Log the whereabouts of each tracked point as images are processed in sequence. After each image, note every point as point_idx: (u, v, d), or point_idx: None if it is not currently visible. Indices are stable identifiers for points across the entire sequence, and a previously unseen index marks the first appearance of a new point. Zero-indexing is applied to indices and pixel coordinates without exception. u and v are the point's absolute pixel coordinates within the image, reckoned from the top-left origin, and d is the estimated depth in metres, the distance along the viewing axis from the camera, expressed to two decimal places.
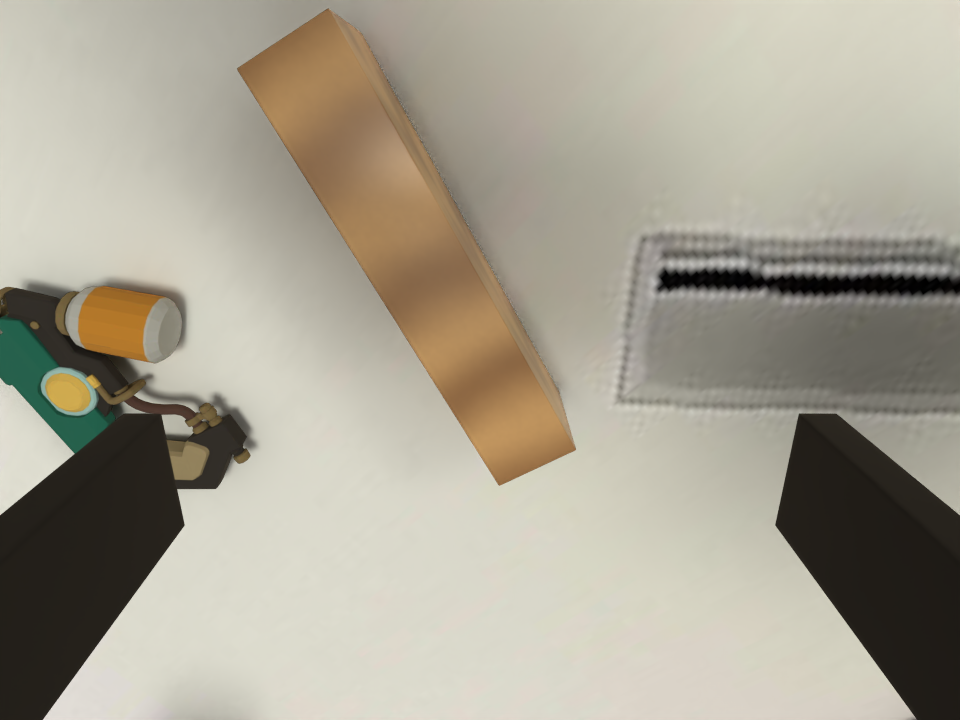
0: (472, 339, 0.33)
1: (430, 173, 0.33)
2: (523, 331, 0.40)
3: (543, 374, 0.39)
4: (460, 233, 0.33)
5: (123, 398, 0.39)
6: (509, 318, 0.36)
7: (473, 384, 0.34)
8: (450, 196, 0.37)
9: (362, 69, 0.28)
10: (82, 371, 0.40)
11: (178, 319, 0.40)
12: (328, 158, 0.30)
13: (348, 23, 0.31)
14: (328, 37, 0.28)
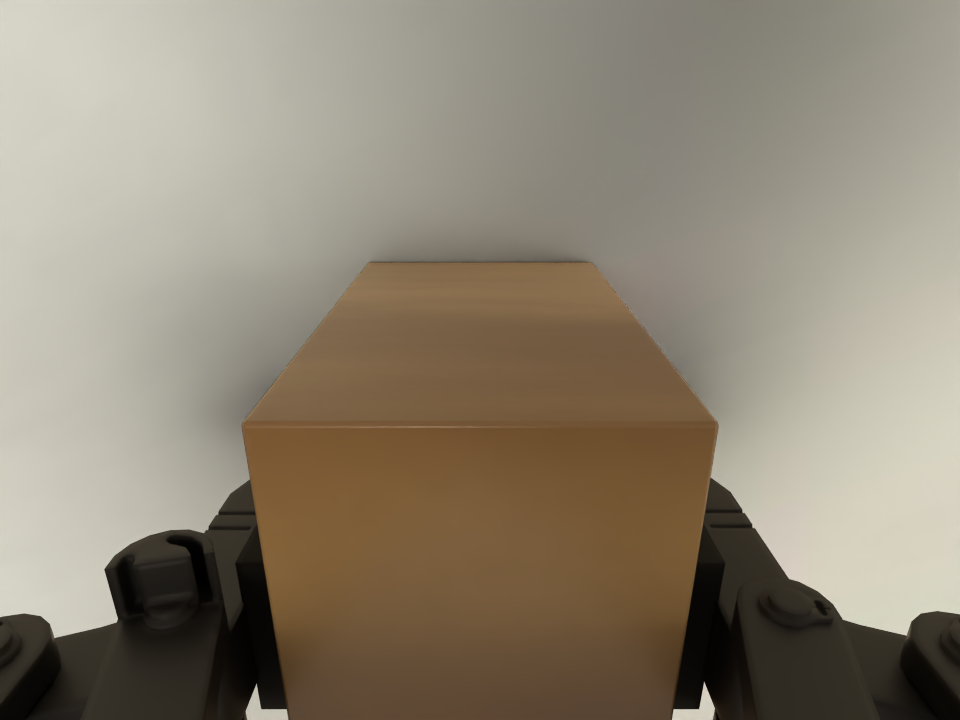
0: None
1: None
2: None
3: None
4: None
5: None
6: None
7: None
8: None
9: (684, 624, 0.08)
10: None
11: None
12: None
13: None
14: (650, 502, 0.07)
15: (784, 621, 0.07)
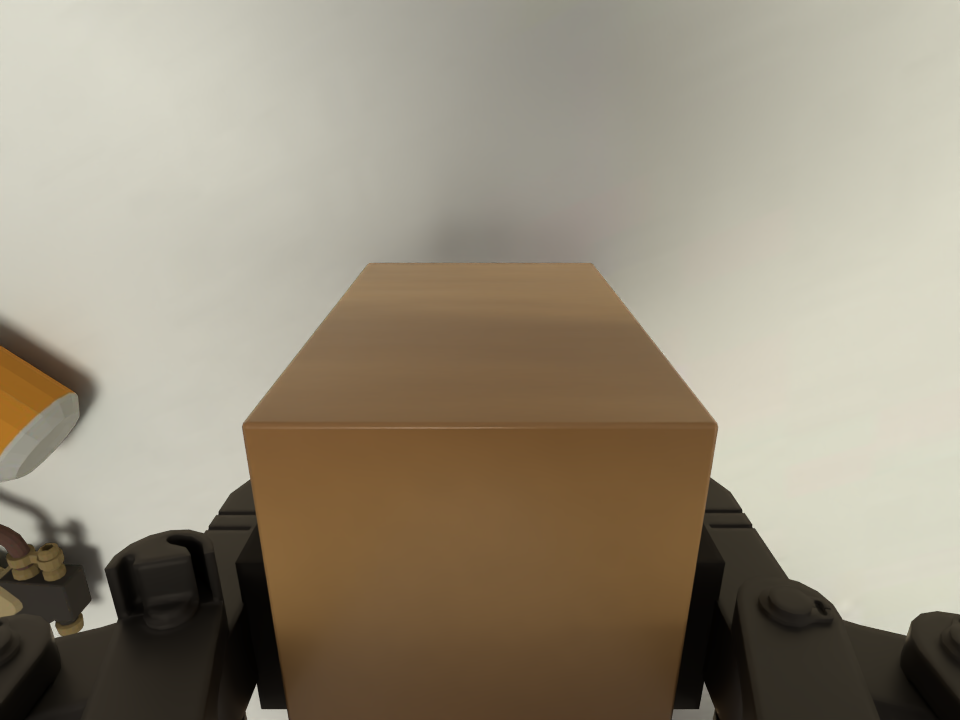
0: None
1: None
2: None
3: None
4: None
5: None
6: None
7: None
8: None
9: (683, 625, 0.08)
10: None
11: (72, 422, 0.25)
12: None
13: None
14: (651, 504, 0.07)
15: (784, 622, 0.07)
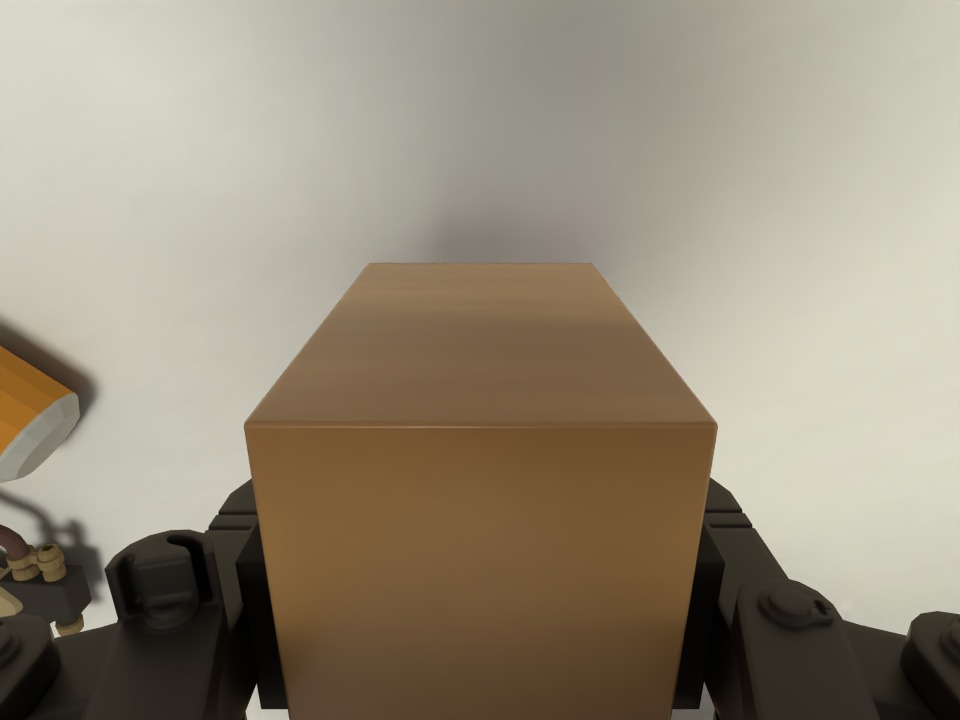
0: None
1: None
2: None
3: None
4: None
5: None
6: None
7: None
8: None
9: (683, 624, 0.08)
10: None
11: (72, 423, 0.25)
12: None
13: None
14: (650, 503, 0.07)
15: (784, 621, 0.07)
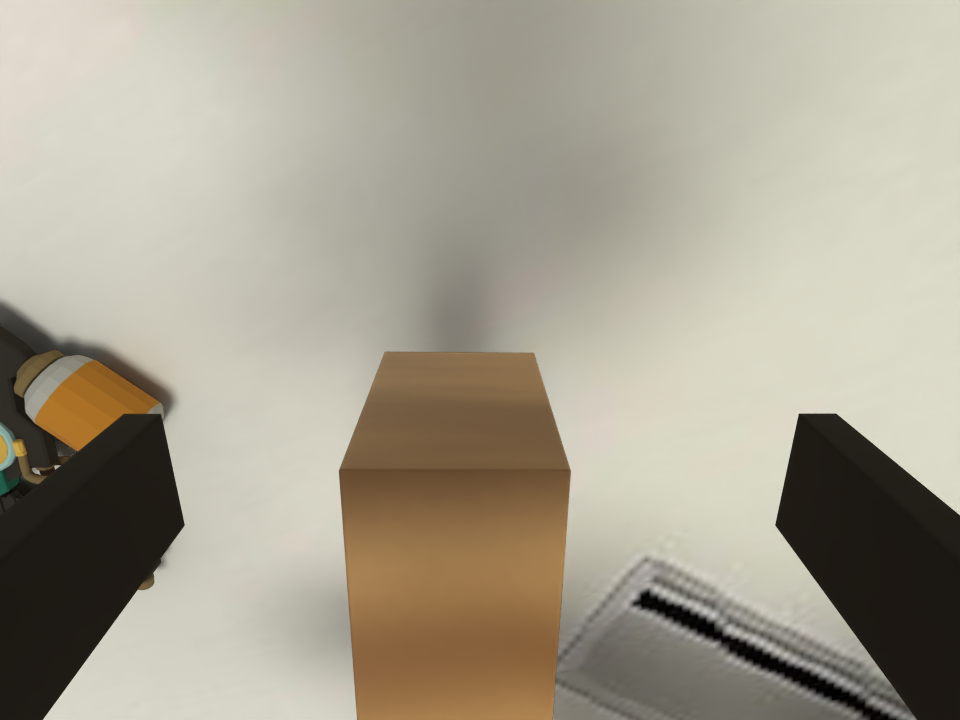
0: None
1: None
2: None
3: None
4: None
5: None
6: None
7: None
8: None
9: (562, 573, 0.14)
10: (11, 429, 0.32)
11: None
12: (413, 659, 0.15)
13: None
14: (540, 509, 0.14)
15: None
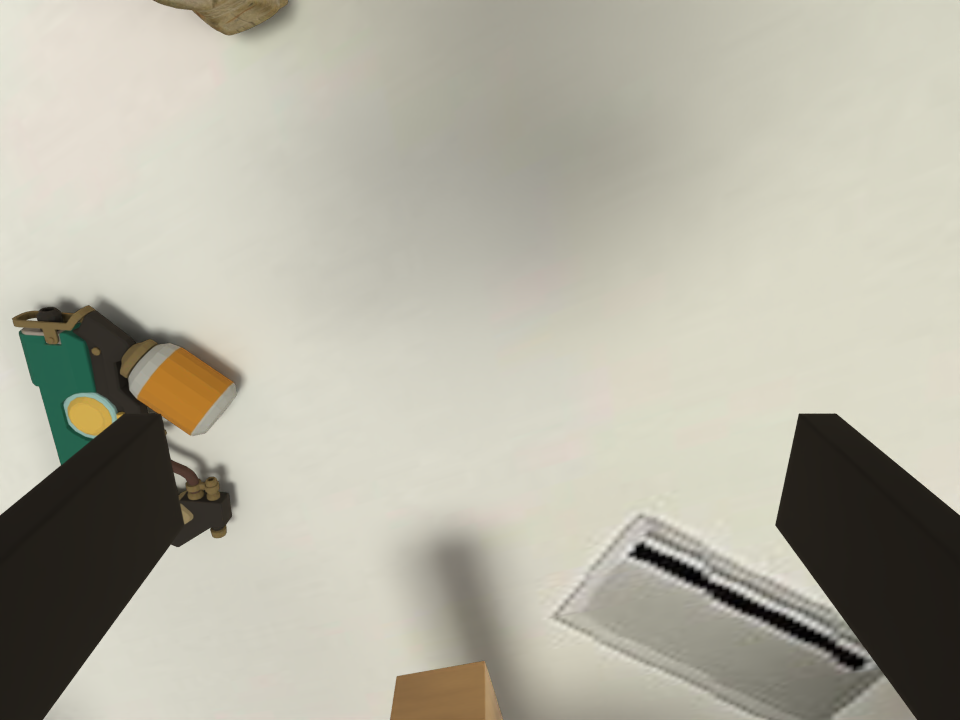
0: None
1: None
2: None
3: None
4: None
5: None
6: None
7: None
8: None
9: None
10: (115, 404, 0.40)
11: (230, 400, 0.41)
12: None
13: None
14: None
15: None
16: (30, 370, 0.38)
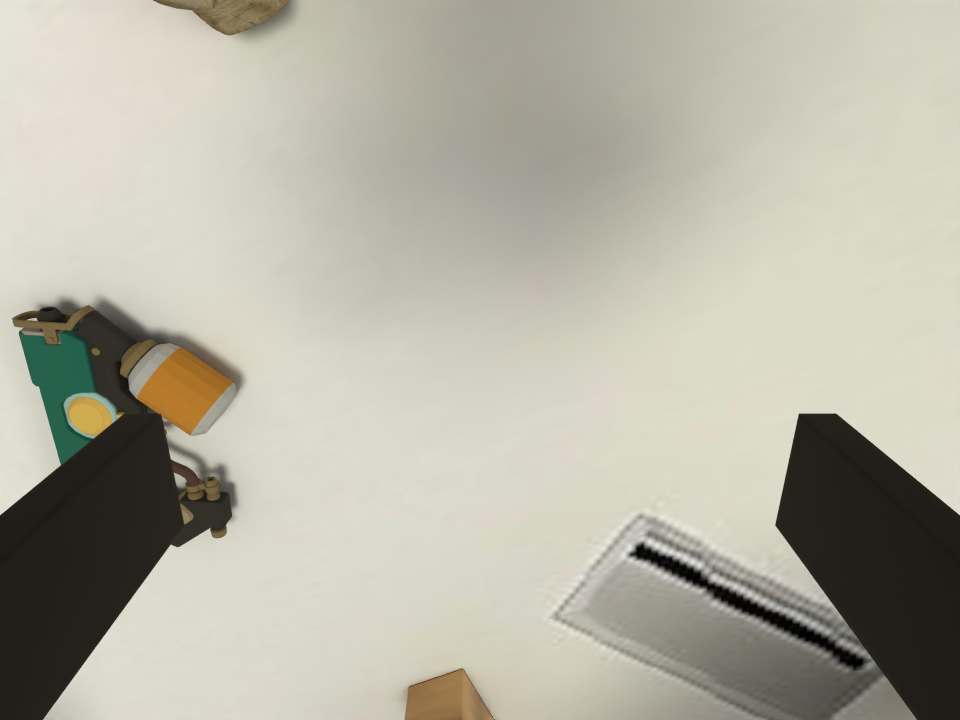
0: None
1: None
2: None
3: None
4: None
5: None
6: None
7: None
8: None
9: None
10: (115, 404, 0.40)
11: (230, 400, 0.41)
12: None
13: (462, 707, 0.48)
14: None
15: None
16: (30, 370, 0.38)
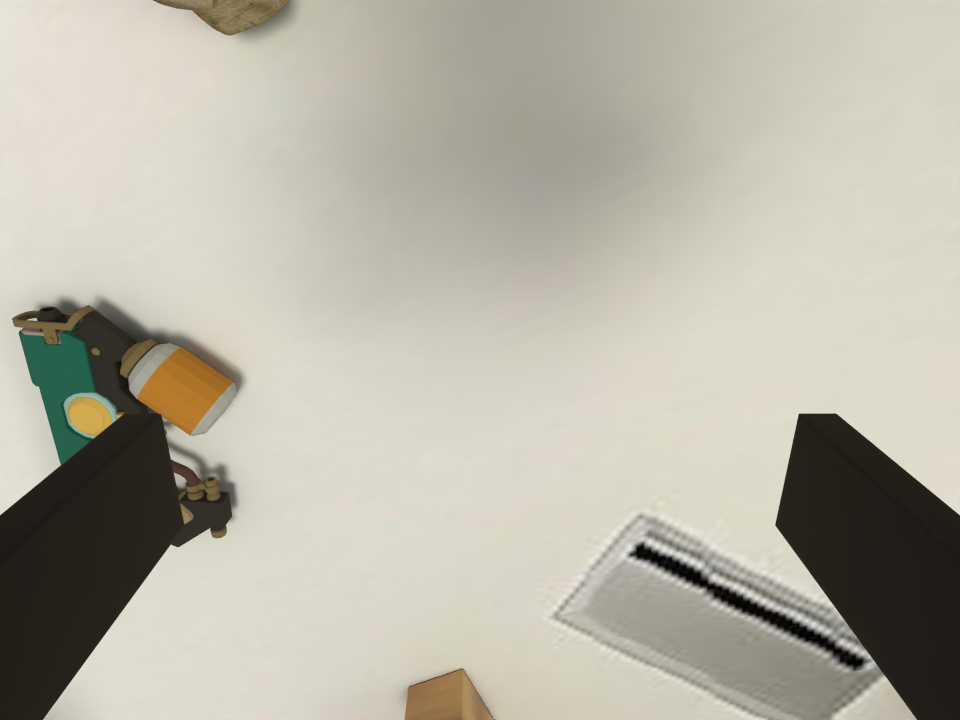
0: None
1: None
2: None
3: None
4: None
5: None
6: None
7: None
8: None
9: None
10: (115, 404, 0.40)
11: (230, 400, 0.41)
12: None
13: (462, 707, 0.48)
14: None
15: None
16: (30, 370, 0.38)
